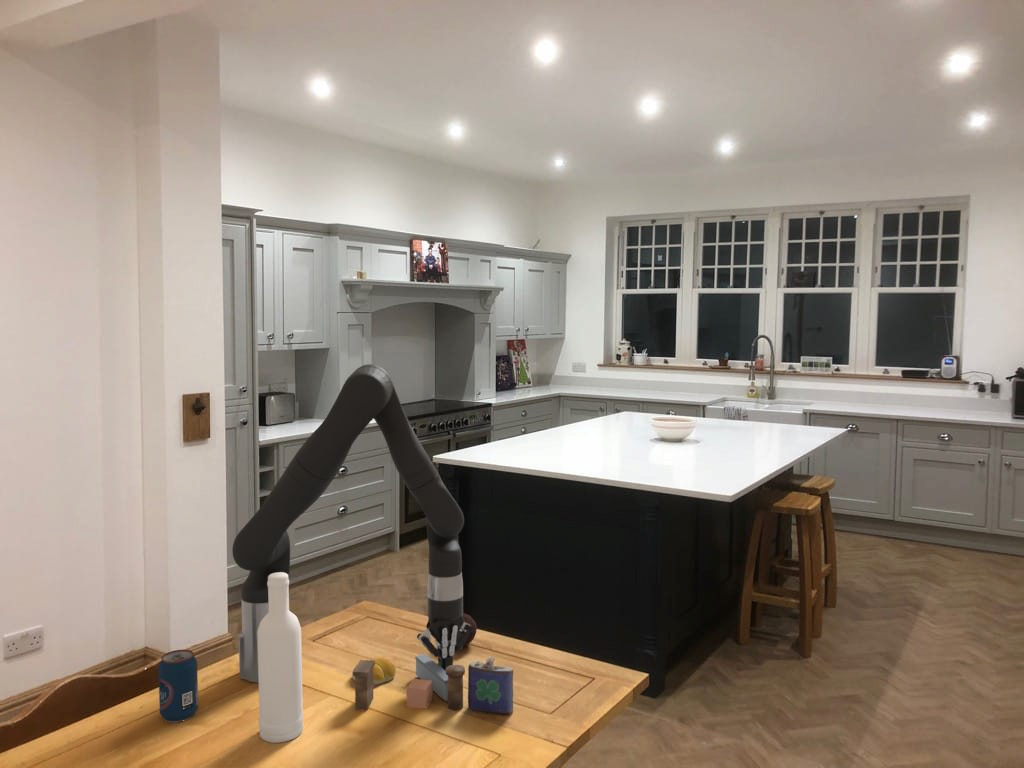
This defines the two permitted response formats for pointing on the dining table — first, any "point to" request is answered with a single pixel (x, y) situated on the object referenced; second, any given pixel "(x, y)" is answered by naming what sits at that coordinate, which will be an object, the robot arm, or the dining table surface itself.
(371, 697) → the stepped wooden slab
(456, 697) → the dark brown cylindrical piece
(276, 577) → the bottle
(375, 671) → the bread roll
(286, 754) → the dining table surface
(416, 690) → the block
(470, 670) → the flask
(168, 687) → the soda can
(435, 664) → the grey rectangular bar
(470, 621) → the dark maroon ball
